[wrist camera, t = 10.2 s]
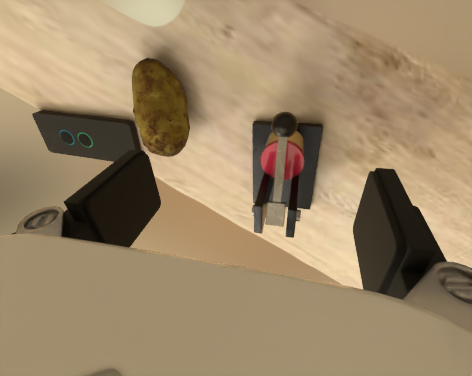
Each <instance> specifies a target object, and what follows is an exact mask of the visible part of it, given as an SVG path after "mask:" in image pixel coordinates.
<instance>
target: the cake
mask: <svg viewBox="0 0 472 376" xmlns="http://www.w3.org/2000/svg"><path fill="white" fill-rule="evenodd" d="M277 148H278V137H277V136H276V135H275V134H274V133H273V132H272V133H271V134H270V136H269V137H268V140H267V143H266V146H265V148H264V150H263V152H262V155H261V166H262V168H263V170H264V171H265V173H266V174H267V175H270V177H272V178H274V179H275V169H276V158H277ZM303 166H304V139H303V137H302V135H301V134H300V133H299V132H298V131H296V132H295V133H294V135H292V136H291V137H289V138H288V141H287V151H286V162H285V172H284V180H289V179H292V177H296V176H297V175H298V174H299V173H300V172H301V171H302V169H303Z"/></svg>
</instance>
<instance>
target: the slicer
mask: <svg viewBox="0 0 472 376" xmlns="http://www.w3.org/2000/svg"><path fill="white" fill-rule="evenodd" d="M271 124H272V122H262V121H254V122H253V203H255V205H253V207H252V215H253V216H254V232H256V233H262V230H263V226H264V221H265V217H266V212H267V202H268V201H269V200H273V190H274V180H275V179H274V178H272V177H270V175H267V174H266V173H265V171H264V170H263V168H262V166H261V155H262V152H263V150H264V148H265V146H266V143H267V140H268V137H269V136H270V134H271V133H272V132H273V131H272V128H271ZM322 129H323V125H322V124H312V123H298V127H297V130H296V131H298V132H299V133H300V134H301V135H302V137H303V139H304V166H303V169H302V171H301V172H300V173H299V174H298V175H297V176H296V177H292V179H289V180H284V182H283V193H282V202H286V207H288V217H287V227H286V237H292V238H293V237H294V231H295V223H296V221H300V214H301V210H297V208H302V209H310V206H311V200H312V193H313V187H314V180H315V174H316V167H317V161H318V154H319V148H320V142H321V135H322Z"/></svg>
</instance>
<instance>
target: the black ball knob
mask: <svg viewBox="0 0 472 376" xmlns="http://www.w3.org/2000/svg"><path fill="white" fill-rule="evenodd" d="M297 127H298V123H297V119H296V117H295V116H294V115H293V114H291V113H289V112H281V113H279V114H277V115H276V116H275V117H274V118H273V120H272V124H271V128H272V131H273V133H274V134H275V135H276V136H277V137H278V148H277V158H276V169H275V180H274V190H273V200H269V201H268V202H267V212H266V223H265V224H266V225H274V226H281V227H283V225H284V218H285V208H286V202H282V193H283V182H284V172H285V162H286V151H287V141H288V138H289V137H291V136H292V135H294V133H295V132H296V130H297Z"/></svg>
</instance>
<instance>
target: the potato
mask: <svg viewBox="0 0 472 376" xmlns="http://www.w3.org/2000/svg"><path fill="white" fill-rule="evenodd" d="M132 90H133V102H134V108H133V113H134V115H135V120H136V123H137V125H138V127H139V128H140V134H141V138H142V141H143V144H144V146H146V147H147V148H148V150H149V151H150V152H151V153H154V154H157V155H161V156H167V157H169V156H174V155H177V154H178V153H179V152H180V151H181V150H182V149H183V148H184V146H185V145H186V142H187V139H188V135H189V129H190V126H189V119H188V114H187V101H186V97H185V94H184V91H183V89H182V87H181V85H180V83H179V81H178V80H177V78H176V77H175V76H174V74H173V73H172V72H171V71H170V70H169V69H168V68H166V67H165V66H164V65H163V64H162V63H161V62H159V61H158V60H155V59H148V58H147V59H144V60H142V61H140V62H139V63H138V64H137V65H136V66H135V68H134V70H133V74H132Z"/></svg>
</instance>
